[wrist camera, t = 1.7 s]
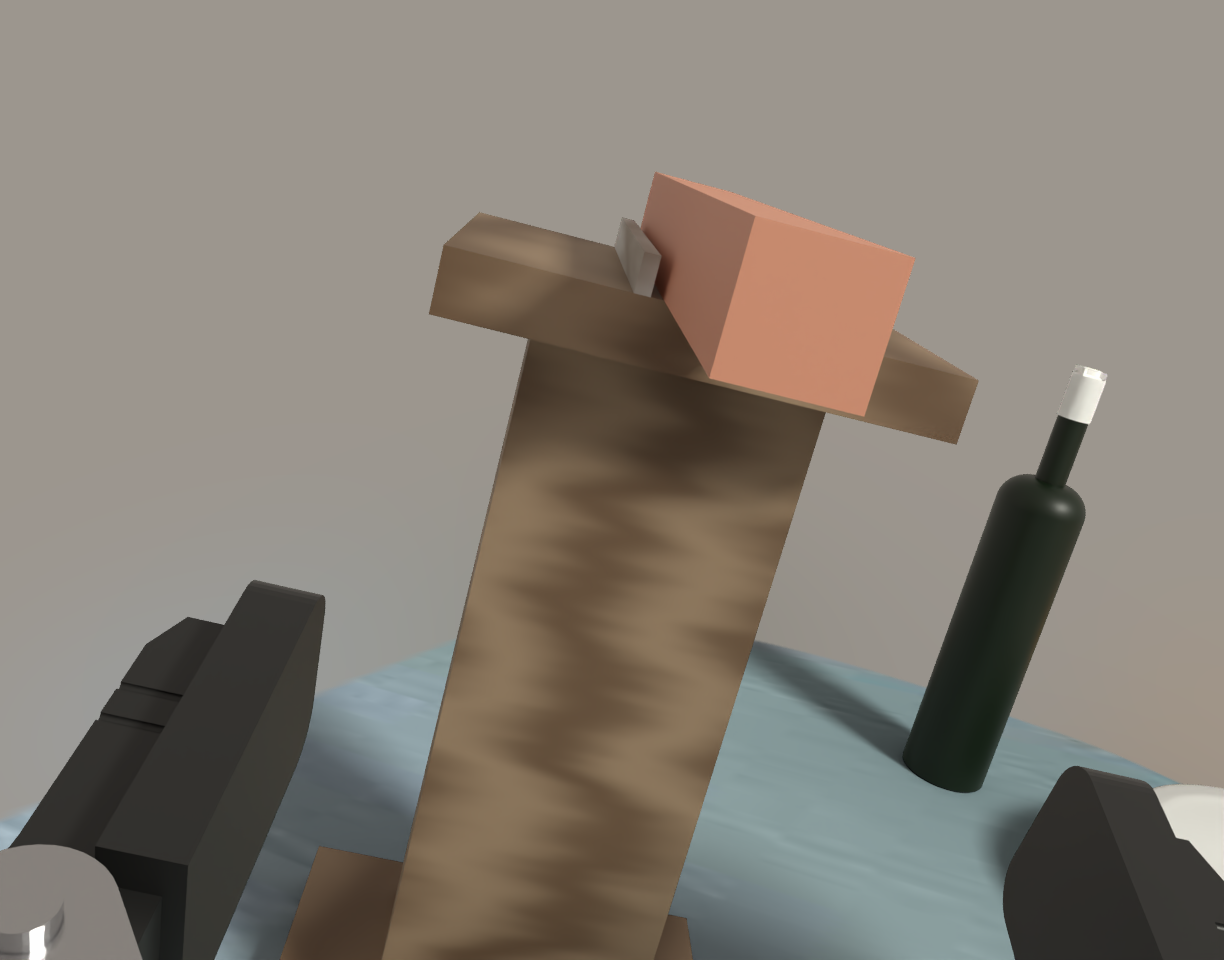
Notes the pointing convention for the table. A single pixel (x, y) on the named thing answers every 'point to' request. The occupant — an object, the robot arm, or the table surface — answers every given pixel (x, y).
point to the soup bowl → (1197, 818)
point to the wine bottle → (1003, 606)
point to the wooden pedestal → (593, 616)
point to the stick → (774, 294)
